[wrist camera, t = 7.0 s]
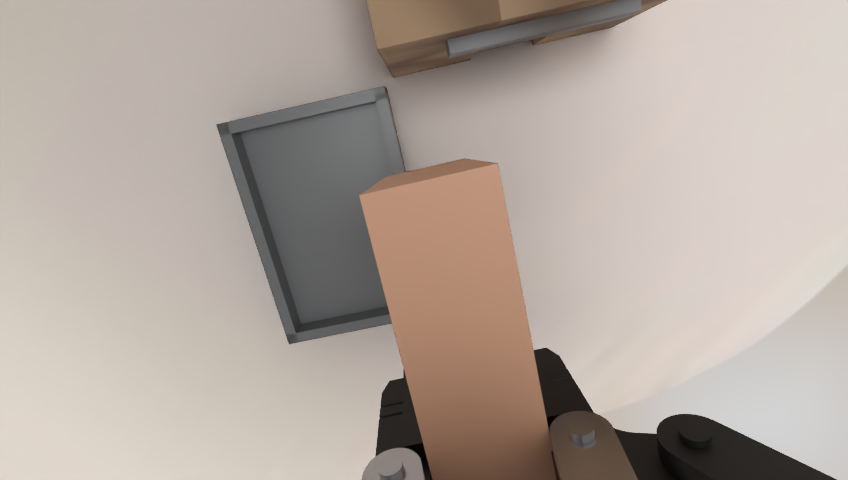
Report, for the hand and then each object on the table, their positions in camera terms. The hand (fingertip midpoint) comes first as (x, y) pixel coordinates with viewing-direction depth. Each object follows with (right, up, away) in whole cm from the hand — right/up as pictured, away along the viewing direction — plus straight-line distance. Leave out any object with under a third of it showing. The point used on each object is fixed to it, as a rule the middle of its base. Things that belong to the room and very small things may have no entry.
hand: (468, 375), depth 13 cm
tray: (-6, +5, +13) cm, 15 cm away
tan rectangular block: (0, +1, +2) cm, 2 cm away
